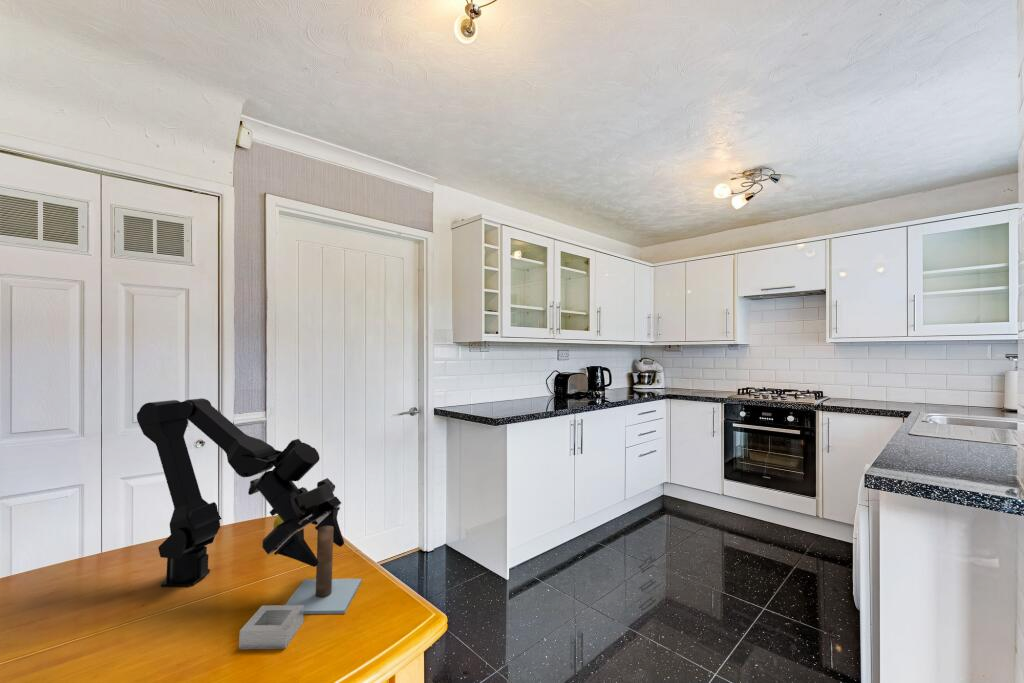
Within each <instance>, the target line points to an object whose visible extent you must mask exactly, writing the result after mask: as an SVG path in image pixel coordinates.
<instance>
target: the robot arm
mask: <svg viewBox="0 0 1024 683" xmlns="http://www.w3.org/2000/svg"><path fill="white" fill-rule="evenodd" d="M136 420H137V423H138V425H139V428H140V430H141V432H142V434H143V435H144V436H145V437H146V438H148V439H149V440H150V441H152V442H153V443H154V444H155V446H156V449H157V453H158V457H159V459H160V463H161V468H162V470H163V473H164V477H165V480H166V484H167V487H168V491H169V495H170V498H171V501H172V504H173V505H172V506H173V508H174V509H173V511H172V515H171V518H170V521H169V530H170V532H169V533H170V535H169V536H168V537H167V538H166V539H165V540H164V541H162V543H161V544H160V545H159V546H158V547H157V548H158V549H157V550H158V552H159V553H158V554H159V556H160V558H164V559H166V576H165V580H163V581H162V582H161V583H160V586H161V587H191V586H194V585H195V584H197V583H198V582H199V581H200V580H201V579H203V578H204V577H205V576H207V574H209V573H210V572H211V569H210V568H209V554H208V553H207V551H208V550H207V549H208V545H211V544H213V542H214V541H215V538H216V535H217V534H218V533H219V530H220V529H221V520H222V517H221V516H220V514H219V513H220V512H219V511H218V510H219V509H218V505H217V503H216V502H215V501H213V502H211V503H208V501H206V500H205V499H204V498H203V496H202V494H201V491H200V487H199V482H198V480H197V477H196V474H195V471H194V466H193V463H192V460H191V456H190V454H189V450H188V446H187V443H186V439H185V435H186V431H187V428H188V425H189V421H190V423H192V424H193V425H194V426H195V427H196V428H197V429H199V430H200V431H201V432H202V433H203V434H204V435H205V436H207V437H208V438H209V439H210V440H211V441H212V442H214V444H215V445H217V446H218V447H220V448H221V449H222V451H223V452H224V453H225V454H226V458H227V463H228V464H229V466H230V467H231V469H233V470H234V472H235V473H236V474H237V475H238V476H239V477H240V478H241V477H242V478H251V477H254V476H256V475H259V474H262V473H263V474H262V475H261V476H260V477H259V478H255V479H253V480H250V482H249V483H250V484H249V489H248V493H247V494H248V495H249V496H252V495H253V494H256V493H258V492H259V493H260V495H262V496H263V498H264V499H265V500H266V501H267V503H268V504H269V505H270V507H271V508H272V509H271V510H270V511H269V514H270V515H271V516H272V517H274V516H275V515H278V516H279V517H280V518H281V519H282V521H283V523H281V524H279V525H278V526H277V527H276V528H275V529H274V528H273V529H272V531H270V532H269V533H268V534H267V535H266V536H265V537H264V538H263V539H262V541H261V542H262V544H261V548H262V549H263V550H264V552H265V553H266V555H267V556H269V555H271V554H273V555H275V556H277V555H280V556H283V557H287V558H290V559H293V560H295V561H298V562H301V563H303V564H306V565H308V566H311V567H312V568H316V566H317V565H318V564H319V562H318V560H317V555H315V553H314V551H313V550H312V549H311V547H310V546H309V544H308V543H307V542H306V540H305V529H304V528H305V527H306V526H308V525H310V524H313V525H315V527H314V529H315V530H316V531H318V528H320V527H322V526H333V527H334V531H333V544H335V545H337V546H338V547H340V548H341V547H342V546H344V544H345V541H344V538H343V535H342V532H341V531H342V530H341V529H340V525H339V521H338V514H339V511H340V510H341V509H340V508H341V506H340V505H341V504H342V502H341V500H340V499H339V498H338V496H335V493H334V492H335V489H336V485H335V484H334V483H333V482H332V481H331V480H330V479H329V478H328V477H327V478H324V479H322V480H320V481H318V482H317V483H316V487H315V488H313V489H311V490H308V489H307V488H306V487H304V486H303V487H300V488H298V486H297V485H296V484H295V483H294V482H299V481H300V480H302V478H303V477H304V476H305V475H306V474H307V473H309V471H311V469H312V468H314V466H315V465H317V463H318V462H319V461H320V459H321V458H320V454H319V452H318V450H317V448H315V447H312V446H311V445H310V444H308V443H306V442H302V441H301V439H300V438H295V439H293V440H291V441H290V442H289V443H288V444H287V446H286V447H285V448H284V449H283V450H278V449H275V447H273V446H272V445H270V444H269V443H267V442H266V441H263V439H259V438H258V437H257V438H256V437H254V436H253V437H252V436H250V435H248V434H246V433H244V432H243V431H242V430H241V428H239V427H237V426H236V425H235V424H234V423H233V422H232V421H231V420H229V419H228V418H227V417H226V416H225V415H223V413H221V412H220V411H218V410H217V409H216V408H215V407H214V406H212V404H211V401H209V400H208V399H206V398H202V397H200V398H194V399H193V398H192V399H186V400H184V401H180V400H176V399H171V400H162V401H152V402H145V403H144V404H143V405H141V407H140V409H139V411H138V412H137V413H136ZM152 442H151V443H152ZM271 469H272V470H271Z"/></svg>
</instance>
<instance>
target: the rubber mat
mask: <svg viewBox="0 0 1024 683" xmlns="http://www.w3.org/2000/svg"><path fill="white" fill-rule="evenodd" d="M362 582H363V579H362V578H332V593H331V594H330V595H329V596H327V597H322V598H319V597H316V578H305V579H304V580H303V581H302V582H301V584H299V586H298V587H297V589H296V590H295V591H294V592H293V594H292V595H291V596H290V598H289V599H288V600H287V601H286V603H284V605H304V615H328V614H329V615H333V614H335V615H336V614H341V615H343V614H345V613H346V611H347V610H348V609H349V606H350V604H351V602H352V601H353V599H354V597H355V595H356V593H357V591H358V590H359V587H360V586H361V584H362Z"/></svg>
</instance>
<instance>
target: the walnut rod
mask: <svg viewBox="0 0 1024 683" xmlns="http://www.w3.org/2000/svg"><path fill="white" fill-rule="evenodd" d="M333 531H334V527H333V526H322V527H320V528H318V530H317V542H316V558H317V560H318V562H319V564H318V565H317V566H316V567H315V568H316V569H315V570H316V571H315V579H316V597H319V598H322V597H327V596H329V595H330V594H331V593H332V579H333V558H334V557H333V556H334V555H333V554H334V543H333Z"/></svg>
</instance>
